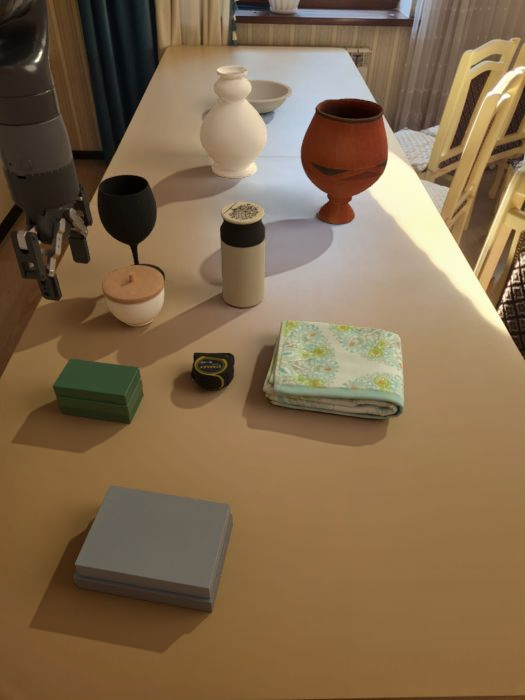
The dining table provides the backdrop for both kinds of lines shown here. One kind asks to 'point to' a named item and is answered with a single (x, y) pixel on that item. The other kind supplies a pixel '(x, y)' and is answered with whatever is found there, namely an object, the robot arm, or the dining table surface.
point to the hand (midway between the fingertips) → (68, 279)
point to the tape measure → (213, 370)
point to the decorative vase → (233, 126)
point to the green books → (102, 407)
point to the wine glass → (128, 211)
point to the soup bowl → (267, 95)
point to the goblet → (344, 153)
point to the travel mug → (242, 254)
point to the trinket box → (134, 294)
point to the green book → (97, 381)
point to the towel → (337, 370)
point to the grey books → (156, 548)
